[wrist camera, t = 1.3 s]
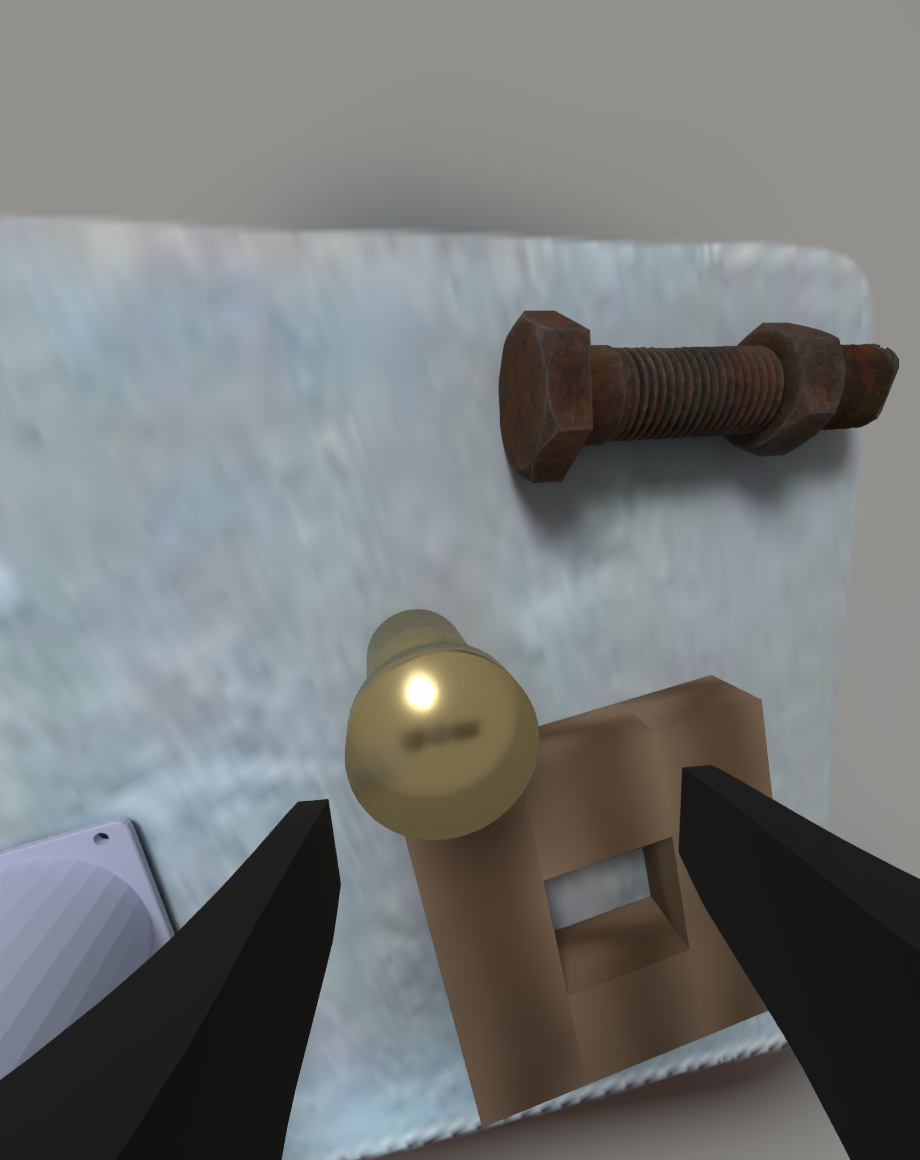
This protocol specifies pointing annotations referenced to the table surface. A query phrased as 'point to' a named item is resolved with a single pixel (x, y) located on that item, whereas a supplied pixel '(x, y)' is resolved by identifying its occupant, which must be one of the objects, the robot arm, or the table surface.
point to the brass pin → (437, 731)
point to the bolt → (679, 391)
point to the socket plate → (606, 942)
